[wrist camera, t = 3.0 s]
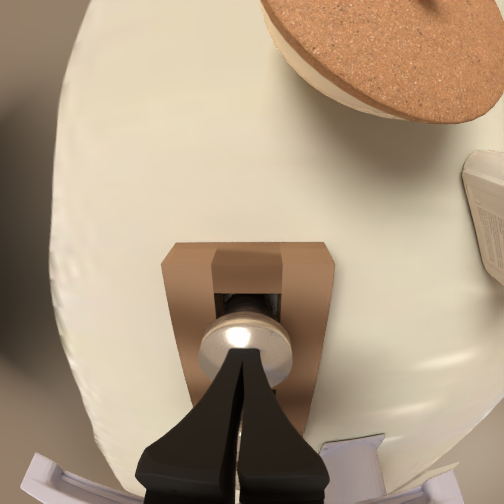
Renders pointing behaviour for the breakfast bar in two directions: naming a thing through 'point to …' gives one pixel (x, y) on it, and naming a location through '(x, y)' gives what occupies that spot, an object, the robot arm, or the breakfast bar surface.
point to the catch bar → (253, 281)
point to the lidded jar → (396, 54)
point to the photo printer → (487, 206)
